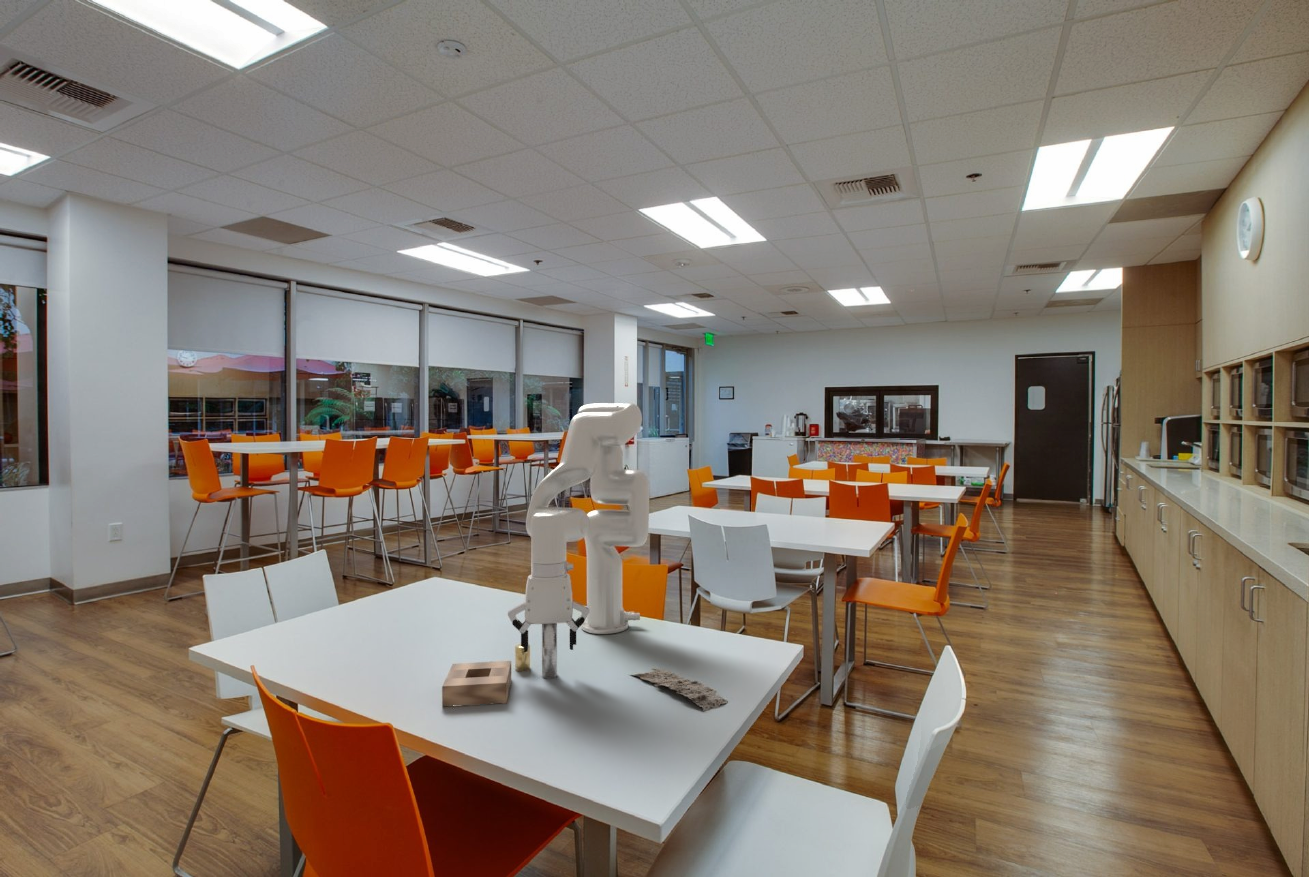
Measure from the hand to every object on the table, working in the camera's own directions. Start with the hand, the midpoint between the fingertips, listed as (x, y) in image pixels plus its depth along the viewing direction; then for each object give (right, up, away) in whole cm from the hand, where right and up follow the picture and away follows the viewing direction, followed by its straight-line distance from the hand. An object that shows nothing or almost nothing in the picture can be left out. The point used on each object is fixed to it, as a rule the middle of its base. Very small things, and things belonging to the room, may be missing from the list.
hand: (548, 648), depth 138 cm
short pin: (-7, -6, +4) cm, 10 cm away
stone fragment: (+27, -7, -6) cm, 28 cm away
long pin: (0, -6, 0) cm, 6 cm away
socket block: (-13, -6, -9) cm, 17 cm away
